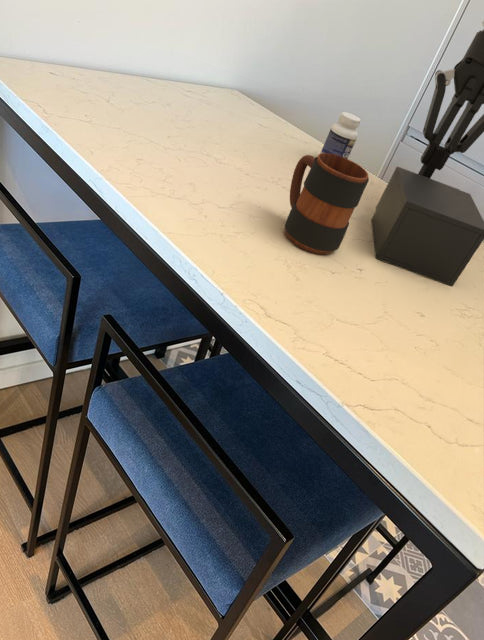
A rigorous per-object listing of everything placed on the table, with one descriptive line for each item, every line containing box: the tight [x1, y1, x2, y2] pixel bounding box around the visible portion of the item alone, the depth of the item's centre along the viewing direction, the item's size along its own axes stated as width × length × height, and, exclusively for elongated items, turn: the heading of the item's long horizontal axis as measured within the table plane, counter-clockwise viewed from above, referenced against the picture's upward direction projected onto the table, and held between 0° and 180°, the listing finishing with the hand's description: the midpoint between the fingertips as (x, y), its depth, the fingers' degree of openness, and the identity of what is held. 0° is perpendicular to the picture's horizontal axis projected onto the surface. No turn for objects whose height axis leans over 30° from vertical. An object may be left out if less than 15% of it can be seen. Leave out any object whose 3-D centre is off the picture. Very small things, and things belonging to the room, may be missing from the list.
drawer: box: [375, 166, 460, 210], centre depth 95 cm, size 18×11×8 cm, turn 170°
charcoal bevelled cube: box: [370, 166, 484, 287], centre depth 89 cm, size 15×13×10 cm
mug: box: [284, 152, 370, 255], centre depth 81 cm, size 9×12×12 cm
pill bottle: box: [319, 111, 362, 160], centre depth 111 cm, size 5×5×10 cm
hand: (419, 183), depth 99 cm, fingers closed
